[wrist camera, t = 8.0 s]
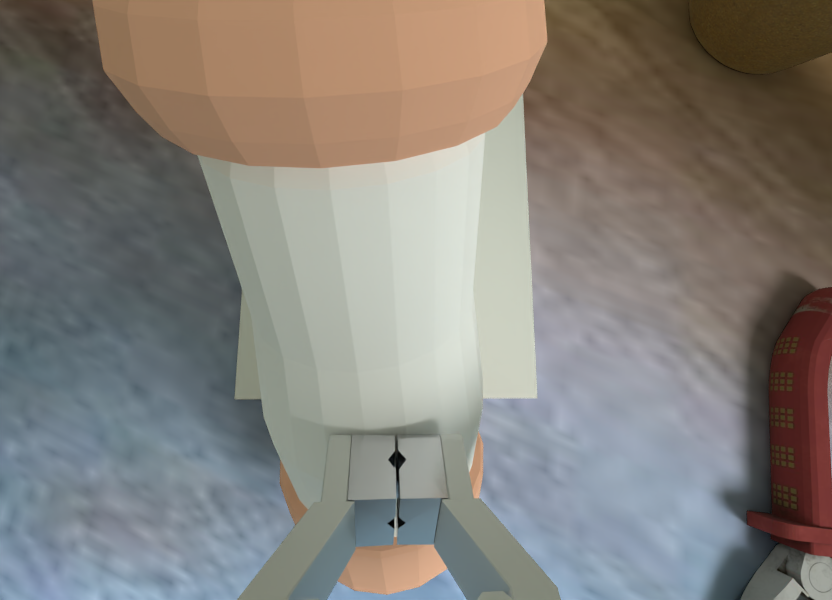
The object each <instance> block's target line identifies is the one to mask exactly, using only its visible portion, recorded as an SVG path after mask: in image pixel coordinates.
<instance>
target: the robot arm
mask: <svg viewBox="0 0 832 600" xmlns="http://www.w3.org/2000/svg"><path fill="white" fill-rule="evenodd" d="M396 448H397V456H396V461H395V436H394V435H330V436H329V439H328V444H327V452H326V461H325V469H324V478H323V486H322V494H321V502H314V503H313V504H312V505H311V506H310V508H309V509H308V510H307V512H306V513H305V514H304V515H303V517H302V518H301V519H300V520H299V522H298V523H297V524H296V526H295V527H294V528H293V529H292V531H291V532H290V533H289V534H288V536H287V537H286V538H285V539H284V541H283V542H282V543H281V545H280V546H279V547H278V548H277V550H276V551H275V552H274V553H273V555H272V556H271V557H270V559H269V560H268V561H267V562H266V564H265V565H264V566H263V567H262V569H261V570H260V571H259V572H258V574H257V575H256V576H255V578H254V579H253V580H252V581H251V583H250V584H249V585H248V586H247V588H246V589H245V590H244V592H243V593H242V594H241V595H240V597H239V598H238V599H237V600H327V598H328V597H329V595H330V593H331V591H332V590H333V588H334V586H335V585H336V583H337V581H338V579H339V578H340V576H341V574H342V572H343V571H344V569H345V567H346V565H347V564H348V562H349V560H350V558H351V557H352V555H353V553H354V552H355V550H356V548H355V547H365V546H382V545H393V541H394V518H395V514H396V535H397V545H434V548H435V549H436V551H437V552H438V554H439V556H440V557H441V559H442V560H443V562H444V564H445V565H446V567H447V568H448V570H449V572H450V573H451V575H452V576H453V578H454V580H455V581H456V583H457V584H458V586H459V588H460V589H461V591H462V592H463V594H464V596H465V597H466V599H467V600H561V599H560V595H559V592H558V588H557V587H556V585H555V584H554V583H553V582H552V581H551V580H550V578H549V577H548V576H547V575H546V574H545V573H544V571H543V570H542V569H541V568H540V567H539V566H538V565H537V563H536V562H535V561H534V560H533V559H532V558H531V556H530V555H529V554H528V553H527V552H526V551H525V550H524V548H523V547H522V546H521V545H520V544H519V543H518V541H517V540H516V539H515V538H514V537H513V536H512V535H511V533H510V532H509V531H508V530H507V529H506V528H505V526H504V525H503V524H502V523H501V522H500V521H499V519H498V518H497V517H496V516H495V515H494V514H493V513H492V511H491V510H490V509H489V508H488V507H487V506H486V504H485V503H484V502H483V501H482V500H481V499H479V498H474V496H473V491H472V485H471V480H470V474H469V469H468V463H467V458H466V452H465V447H464V441H463V437H462V436H461V434H399V435H397V443H396ZM394 465H395V468H394ZM396 499H397V504H396Z"/></svg>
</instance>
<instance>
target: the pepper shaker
mask: <svg viewBox="0 0 832 600" xmlns="http://www.w3.org/2000/svg"><path fill="white" fill-rule="evenodd" d="M92 1H93V8H94V14H95V21H96V27H97V33H98V39H99V46H100V52H101V58H102V64H103V70H104V72H105V73H106V74H107V75H108V77H109V78H110V79H111V80H112V82H113V83H114V84H115V86H116V87H117V88H118V89H119V91H120V92H121V93H122V94H123V96H124V97H125V98H126V100H127V101H128V102H129V103H130V105H131V106H132V107H133V108H134V110H135V111H136V112H137V113H138V114H139V115H140V116H141V117H142V118H143V119H144V120H145V121H146V122H147V123H148V124H149V125H150V126H151V127H152V128H153V129H154V130H155V131H156V132H157V133H158V134H159V135H160V136H161V137H163V138H165V139H167V140H168V141H170V142H172V143H174V144H176V145H177V146H179V147H181V148H183V149H185V150H187V151H188V152H190V153H192V154H195V155H198V158H199V161H200V164H201V167H202V170H203V173H204V176H205V179H206V182H207V185H208V188H209V191H210V194H211V197H212V200H213V203H214V206H215V209H216V212H217V215H218V218H219V221H220V224H221V227H222V230H223V233H224V236H225V239H226V242H227V245H228V248H229V251H230V254H231V257H232V260H233V263H234V266H235V269H236V272H237V275H238V278H239V281H240V284H241V287H242V290H243V293H244V296H245V299H246V302H247V305H248V308H249V311H250V314H251V320H252V328H253V336H254V344H255V352H256V360H257V368H258V376H259V384H260V392H261V400H262V408H263V416H264V419H265V422H266V425H267V428H268V430H269V433H270V436H271V439H272V441H273V444H274V447H275V449H276V451H277V453H278V455H279V457H280V486H281V488H282V491H283V494H284V497H285V500H286V503H287V506H288V508H289V511H290V514H291V516H292V518H293V521H294V523H295V525H296V524H297V523H298V522H299V520H300V519H301V518H302V517H303V515H304V514H305V513H306V512H307V510H308V509H309V508H310V506H311V505H312V504H313V503H314V502H321V494H322V486H323V478H324V469H325V461H326V452H327V444H328V439H329V436H330V435H394V436H395V461H396V456H397V448H396V443H397V435H399V434H461V436H462V437H463V441H464V447H465V452H466V458H467V463H468V469H469V474H470V480H471V485H472V491H473V496H474V498H479V495H480V489H481V483H482V477H483V442H482V439H481V437H480V434H479V431H478V430H479V425H480V420H481V414H482V409H483V375H482V366H481V357H480V348H479V339H478V330H477V321H476V312H475V303H474V294H473V285H474V272H475V259H476V246H477V234H478V221H479V208H480V195H481V183H482V170H483V157H484V144H485V132H487V131H489V130H491V129H493V128H495V127H497V126H498V125H499V124H500V123H501V122H502V120H503V119H504V118H505V117H506V116H507V115H508V113H509V112H510V111H511V110H512V109H513V108H514V106H515V105H516V103H517V102H518V100H519V98H520V97H521V95H522V94H523V92H524V90H525V89H526V87H527V86H528V84H529V83H530V80H531V78H532V76H533V73H534V71H535V69H536V67H537V64H538V62H539V60H540V58H541V55H542V53H543V51H544V49H545V46H546V44H547V29H546V17H545V4H544V0H92ZM394 468H395V465H394ZM396 504H397V499H396ZM355 548H356V550H355V552H354V553H353V555H352V557H351V558H350V560H349V562H348V564H347V565H346V567H345V569H344V571H343V572H342V574H341V576H340V578H339V579H338V582H340V583H342V584H344V585H345V586H347V587H349V588H351V589H353V590H355V591H362V592H370V593H378V594H386V595H388V594H392V593H396V592H400V591H404V590H409V589H413V588H417V587H420V586H422V585H423V584H425V583H426V582H428V581H429V580H431V579H432V578H434V577H435V576H437V575H438V574H440V573H441V572H443V571H445V570H446V569H447V567H446V565H445V564H444V562H443V560H442V559H441V557H440V556H439V554H438V552H437V551H436V549H435V548H434V545H397V535H396V514H395V518H394V541H393V545H382V546H365V547H355Z"/></svg>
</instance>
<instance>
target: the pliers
mask: <svg viewBox="0 0 832 600" xmlns="http://www.w3.org/2000/svg"><path fill="white" fill-rule="evenodd" d="M831 356H832V287H828V288H822V289H818V290H816V291H813V292H811V293H810V294H808V295H807V296H806V297H805V298H804V299H803V300H802V301H801V303H800V304H799V306H798V308H797V309H796V311H795V313H794V314H793V316H792V317H791V319H790V321H789V322H788V324H787V326H786V327H785V329H784V330H783V332H782V334H781V335H780V337H779V339H778V340H777V342H776V345H775V348H774V352H773V355H772V361H771V368H770V377H769V416H770V457H771V498H772V514H771V513H762V512H754V511H747V525H749V526H752V527H754V528H757V529H759V530H762V531H765V532H767V533H770V534H771V539H772V540H774V541H776V542H779V544H777V545H776V546H775V548H774V549H773V550H772V552H771V553H770V554H769V556H768V557H767V558H766V560H765V561H764V562H763V564H762V565H761V566H760V567H759V569H758V570H757V571H756V573H755V574H754V576H753V577H752V579H751V581H750V582H749V584H748V585H747V587H746V589H745V590H744V592H743V595H742V597H741V600H832V478H831V457H830V437H829V417H828V397H827V386H828V371H829V365H830V360H831Z"/></svg>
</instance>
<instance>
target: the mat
mask: <svg viewBox="0 0 832 600" xmlns="http://www.w3.org/2000/svg"><path fill="white" fill-rule="evenodd" d="M473 294H474V303H475V312H476V321H477V330H478V339H479V348H480V357H481V366H482V375H483V398H537V383H536V361H535V340H534V319H533V298H532V277H531V255H530V234H529V213H528V192H527V171H526V149H525V128H524V107H523V94H522V95H521V97H520V98H519V100H518V102H517V103H516V105H515V106H514V108H513V109H512V110H511V111H510V112H509V113H508V115H507V116H506V117H505V118H504V119H503V120H502V122H501V123H500V124H499V125H498V126H497V127H495V128H493V129H491V130H489V131H487V132H485V144H484V157H483V170H482V183H481V195H480V208H479V221H478V234H477V246H476V259H475V272H474V285H473ZM235 399H261V392H260V384H259V376H258V368H257V360H256V352H255V344H254V336H253V328H252V320H251V314H250V311H249V308H248V305H247V302H246V299H245V296H244V293H243V290H242V299H241V313H240V327H239V342H238V356H237V371H236V385H235Z"/></svg>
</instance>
